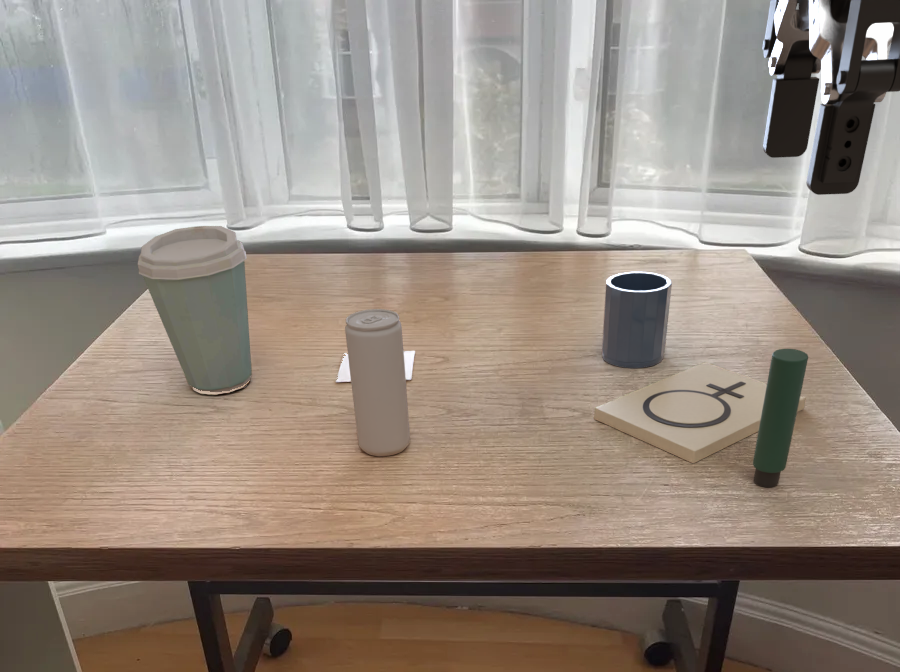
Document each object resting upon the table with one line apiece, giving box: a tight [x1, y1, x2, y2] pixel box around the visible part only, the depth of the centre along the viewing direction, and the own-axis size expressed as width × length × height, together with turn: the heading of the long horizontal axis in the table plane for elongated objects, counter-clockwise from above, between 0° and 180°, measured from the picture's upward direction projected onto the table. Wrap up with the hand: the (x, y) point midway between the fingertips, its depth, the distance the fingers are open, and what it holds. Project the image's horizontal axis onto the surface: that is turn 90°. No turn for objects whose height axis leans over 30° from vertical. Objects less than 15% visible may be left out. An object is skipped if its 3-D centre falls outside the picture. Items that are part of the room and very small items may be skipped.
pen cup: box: [601, 271, 673, 369], centre depth 95 cm, size 7×7×8 cm
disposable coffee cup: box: [137, 225, 253, 392], centre depth 91 cm, size 11×11×15 cm
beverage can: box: [344, 308, 411, 457], centre depth 79 cm, size 5×5×12 cm
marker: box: [752, 348, 809, 488], centre depth 72 cm, size 3×3×11 cm
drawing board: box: [593, 361, 807, 464], centre depth 85 cm, size 16×12×1 cm
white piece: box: [335, 350, 416, 383], centre depth 98 cm, size 8×8×1 cm
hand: (805, 172), depth 46 cm, fingers open, 8 cm apart
